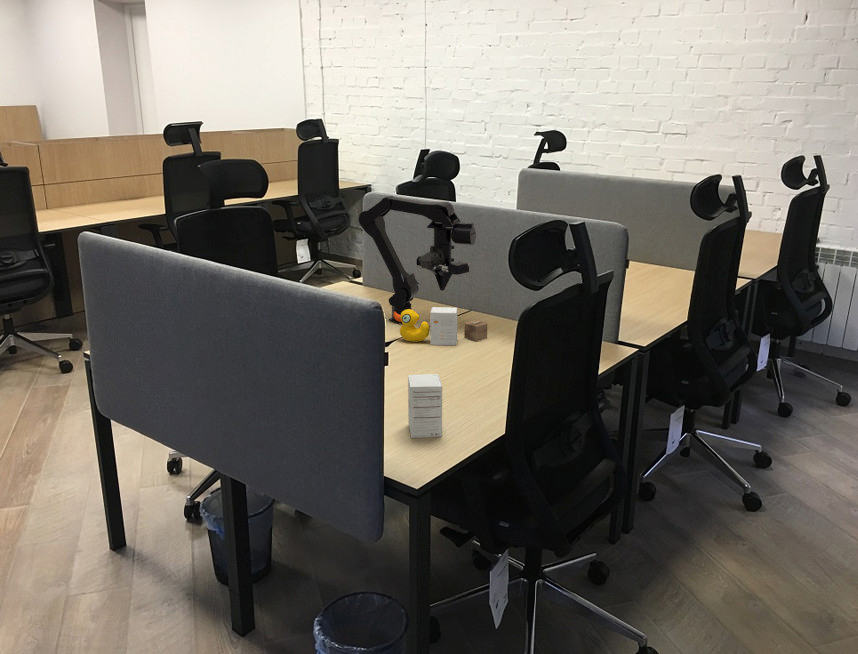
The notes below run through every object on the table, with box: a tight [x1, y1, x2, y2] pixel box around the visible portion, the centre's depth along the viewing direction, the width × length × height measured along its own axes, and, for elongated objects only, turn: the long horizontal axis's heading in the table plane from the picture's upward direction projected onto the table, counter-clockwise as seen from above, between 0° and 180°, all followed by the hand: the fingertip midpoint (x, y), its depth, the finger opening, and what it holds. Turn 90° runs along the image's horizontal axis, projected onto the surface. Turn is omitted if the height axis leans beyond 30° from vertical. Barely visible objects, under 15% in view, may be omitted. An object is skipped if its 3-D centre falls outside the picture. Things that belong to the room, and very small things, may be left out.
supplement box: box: [407, 373, 443, 439], centre depth 170 cm, size 7×7×13 cm
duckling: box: [393, 309, 430, 343], centre depth 229 cm, size 11×5×10 cm, turn 75°
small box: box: [429, 306, 458, 346], centre depth 228 cm, size 8×6×10 cm
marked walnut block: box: [463, 319, 488, 343], centre depth 232 cm, size 5×5×5 cm
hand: (442, 290), depth 241 cm, fingers closed
